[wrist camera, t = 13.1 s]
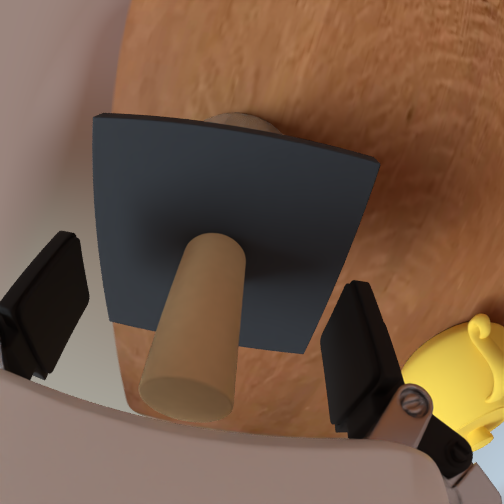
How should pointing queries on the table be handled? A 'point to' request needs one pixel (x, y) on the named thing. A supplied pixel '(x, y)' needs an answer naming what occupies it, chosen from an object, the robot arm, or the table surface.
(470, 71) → the table surface
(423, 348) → the teapot
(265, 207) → the plate with wooden peg
